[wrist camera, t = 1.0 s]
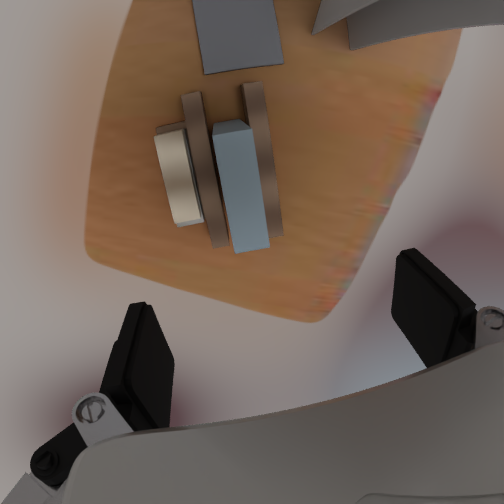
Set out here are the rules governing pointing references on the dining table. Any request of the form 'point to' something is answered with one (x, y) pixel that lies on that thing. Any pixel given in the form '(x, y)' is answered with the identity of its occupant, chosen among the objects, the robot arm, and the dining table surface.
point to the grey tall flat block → (405, 17)
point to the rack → (206, 164)
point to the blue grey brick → (241, 184)
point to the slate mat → (237, 34)
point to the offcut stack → (179, 174)
